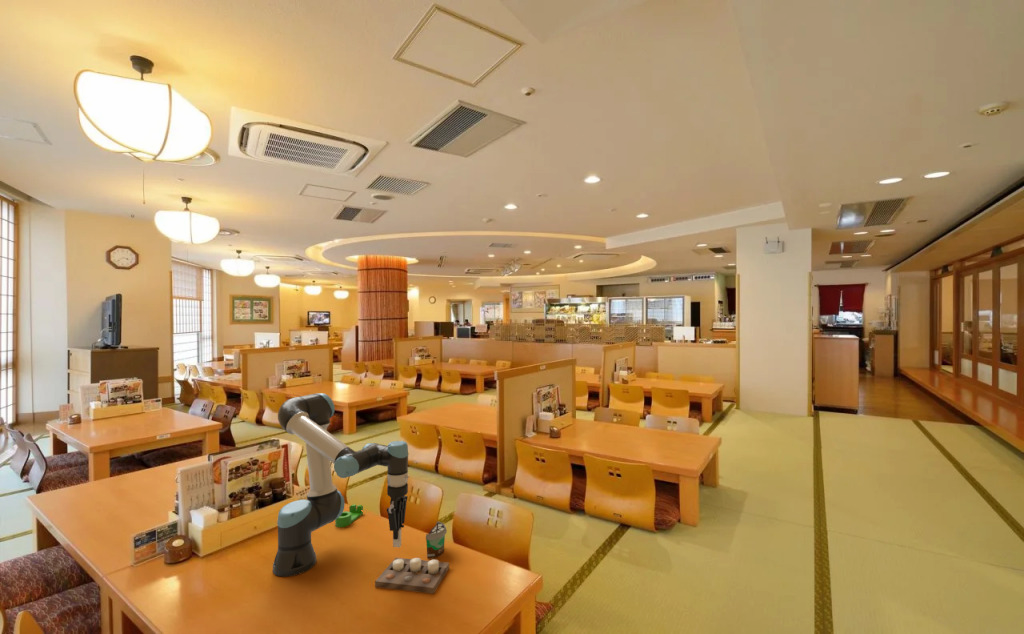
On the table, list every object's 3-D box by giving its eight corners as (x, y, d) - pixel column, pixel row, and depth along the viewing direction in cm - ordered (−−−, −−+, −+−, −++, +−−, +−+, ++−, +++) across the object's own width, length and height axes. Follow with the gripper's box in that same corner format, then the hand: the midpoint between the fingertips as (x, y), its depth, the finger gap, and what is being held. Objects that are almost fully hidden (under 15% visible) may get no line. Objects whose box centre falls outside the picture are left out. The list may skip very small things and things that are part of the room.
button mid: (408, 572, 161) (408, 563, 161) (412, 566, 165) (412, 557, 165) (418, 573, 160) (418, 564, 160) (422, 567, 164) (422, 558, 164)
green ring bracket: (345, 528, 201) (345, 518, 201) (332, 527, 202) (332, 517, 202) (363, 514, 215) (363, 505, 215) (350, 513, 217) (350, 504, 217)
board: (375, 586, 155) (375, 580, 155) (395, 562, 171) (395, 557, 171) (433, 593, 151) (433, 587, 151) (449, 568, 166) (449, 562, 166)
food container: (440, 561, 171) (440, 536, 171) (425, 560, 172) (425, 534, 172) (451, 545, 183) (450, 522, 183) (437, 544, 184) (437, 520, 184)
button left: (390, 573, 162) (390, 564, 162) (395, 567, 166) (395, 558, 166) (400, 574, 162) (400, 565, 162) (405, 568, 166) (405, 559, 166)
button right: (426, 574, 160) (426, 564, 160) (430, 568, 164) (430, 559, 164) (436, 575, 159) (436, 565, 159) (440, 569, 163) (440, 560, 163)
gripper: (399, 491, 157) (398, 556, 157) (414, 478, 170) (413, 538, 170) (380, 489, 159) (379, 554, 159) (396, 476, 172) (395, 536, 171)
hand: (397, 546), depth 164 cm, fingers closed
